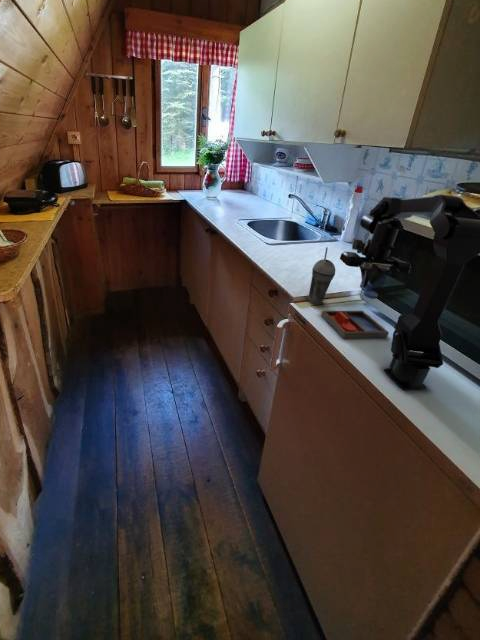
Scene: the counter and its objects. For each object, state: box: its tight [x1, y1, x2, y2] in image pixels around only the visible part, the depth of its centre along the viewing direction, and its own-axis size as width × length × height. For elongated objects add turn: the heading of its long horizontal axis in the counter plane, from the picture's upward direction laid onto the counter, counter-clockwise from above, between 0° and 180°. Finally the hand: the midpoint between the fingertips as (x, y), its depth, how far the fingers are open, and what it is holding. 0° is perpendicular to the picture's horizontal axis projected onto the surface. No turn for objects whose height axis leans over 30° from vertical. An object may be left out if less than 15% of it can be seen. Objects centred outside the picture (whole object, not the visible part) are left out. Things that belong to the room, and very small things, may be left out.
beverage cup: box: [308, 246, 336, 305], centre depth 103 cm, size 7×7×20 cm
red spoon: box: [335, 310, 356, 332], centre depth 92 cm, size 8×4×3 cm, turn 10°
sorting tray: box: [320, 310, 390, 340], centre depth 94 cm, size 12×15×2 cm
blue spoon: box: [359, 280, 379, 300], centre depth 94 cm, size 8×4×3 cm, turn 177°
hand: (365, 286), depth 96 cm, fingers closed on blue spoon
